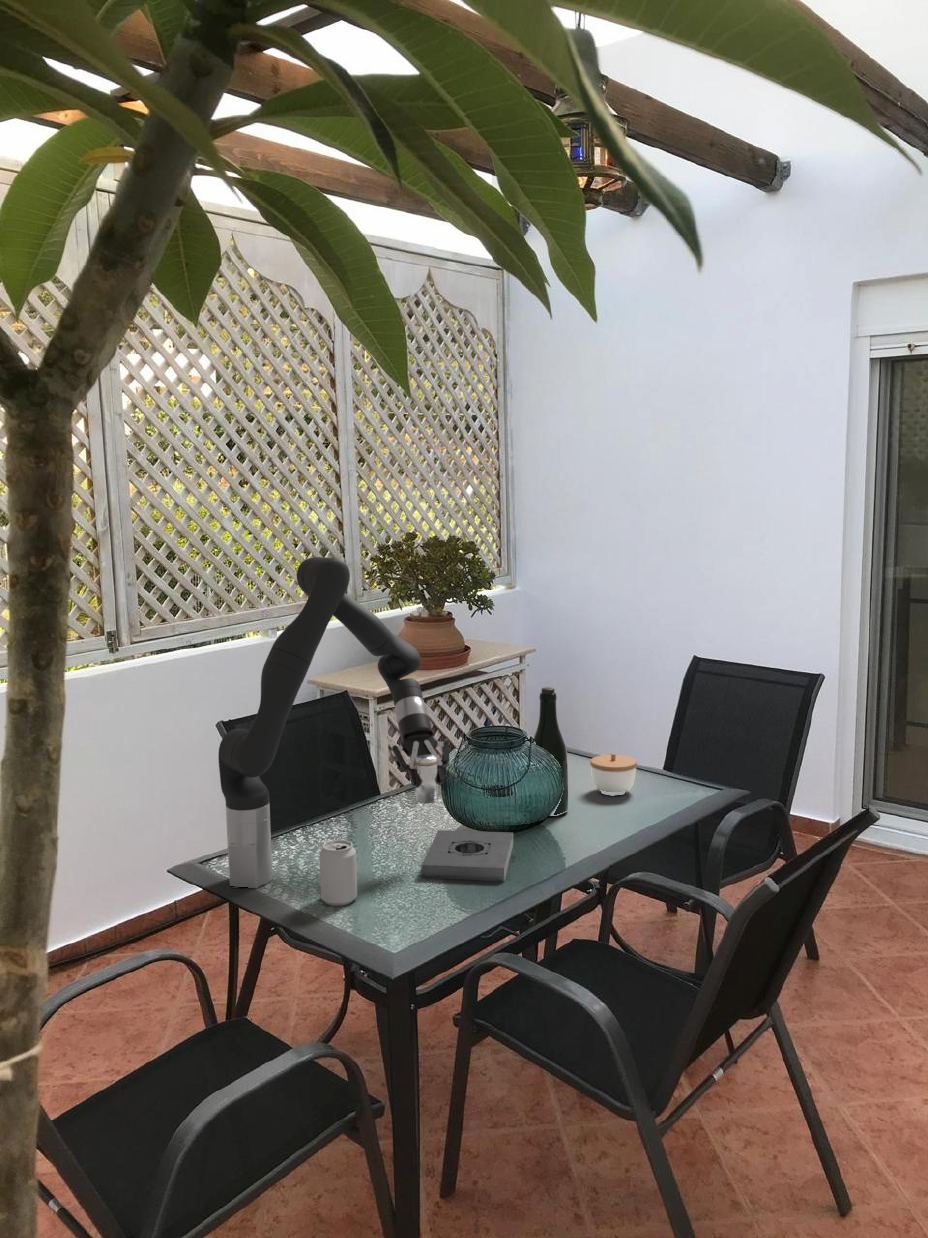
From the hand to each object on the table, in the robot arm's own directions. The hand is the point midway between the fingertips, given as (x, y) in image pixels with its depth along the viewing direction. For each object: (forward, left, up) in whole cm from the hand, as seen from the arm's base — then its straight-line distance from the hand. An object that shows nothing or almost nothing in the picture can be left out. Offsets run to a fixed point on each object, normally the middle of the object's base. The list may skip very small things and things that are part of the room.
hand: (429, 784), depth 217 cm
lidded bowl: (+56, -42, -19) cm, 72 cm away
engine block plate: (+2, -9, -18) cm, 20 cm away
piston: (+2, +1, -4) cm, 5 cm away
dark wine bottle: (+38, -25, -19) cm, 49 cm away
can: (-22, +15, -19) cm, 33 cm away
